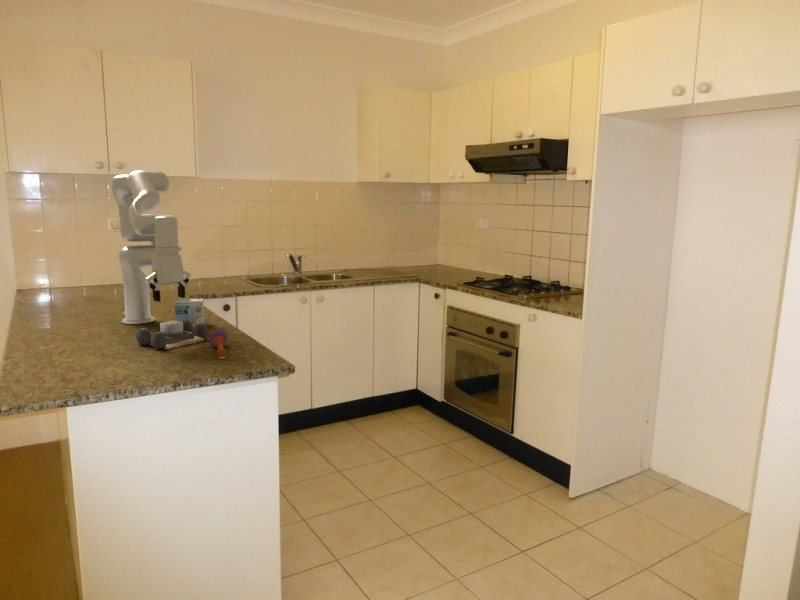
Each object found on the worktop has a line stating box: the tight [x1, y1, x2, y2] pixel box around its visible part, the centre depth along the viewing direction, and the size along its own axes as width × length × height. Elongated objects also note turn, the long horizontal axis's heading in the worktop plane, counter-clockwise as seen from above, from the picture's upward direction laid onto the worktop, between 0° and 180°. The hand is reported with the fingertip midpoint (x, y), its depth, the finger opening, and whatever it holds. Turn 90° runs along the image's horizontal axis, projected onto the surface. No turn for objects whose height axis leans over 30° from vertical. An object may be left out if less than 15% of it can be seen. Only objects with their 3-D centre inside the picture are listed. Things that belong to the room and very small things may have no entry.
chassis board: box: [135, 320, 209, 350], centre depth 206 cm, size 16×19×6 cm
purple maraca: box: [209, 329, 228, 358], centre depth 195 cm, size 6×6×20 cm
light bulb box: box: [174, 298, 205, 326], centre depth 232 cm, size 11×7×11 cm, turn 105°
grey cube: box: [159, 319, 184, 338], centre depth 206 cm, size 6×6×6 cm
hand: (169, 299), depth 204 cm, fingers open, 9 cm apart
